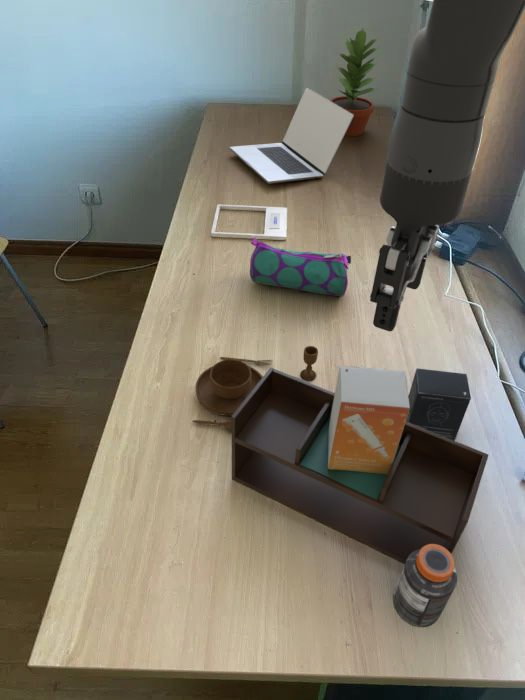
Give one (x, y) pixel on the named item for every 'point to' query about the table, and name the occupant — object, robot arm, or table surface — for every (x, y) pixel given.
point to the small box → (367, 419)
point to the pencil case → (299, 269)
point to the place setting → (237, 383)
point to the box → (438, 401)
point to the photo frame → (273, 222)
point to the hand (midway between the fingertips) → (396, 305)
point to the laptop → (301, 142)
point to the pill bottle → (425, 585)
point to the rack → (352, 486)
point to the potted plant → (356, 84)
